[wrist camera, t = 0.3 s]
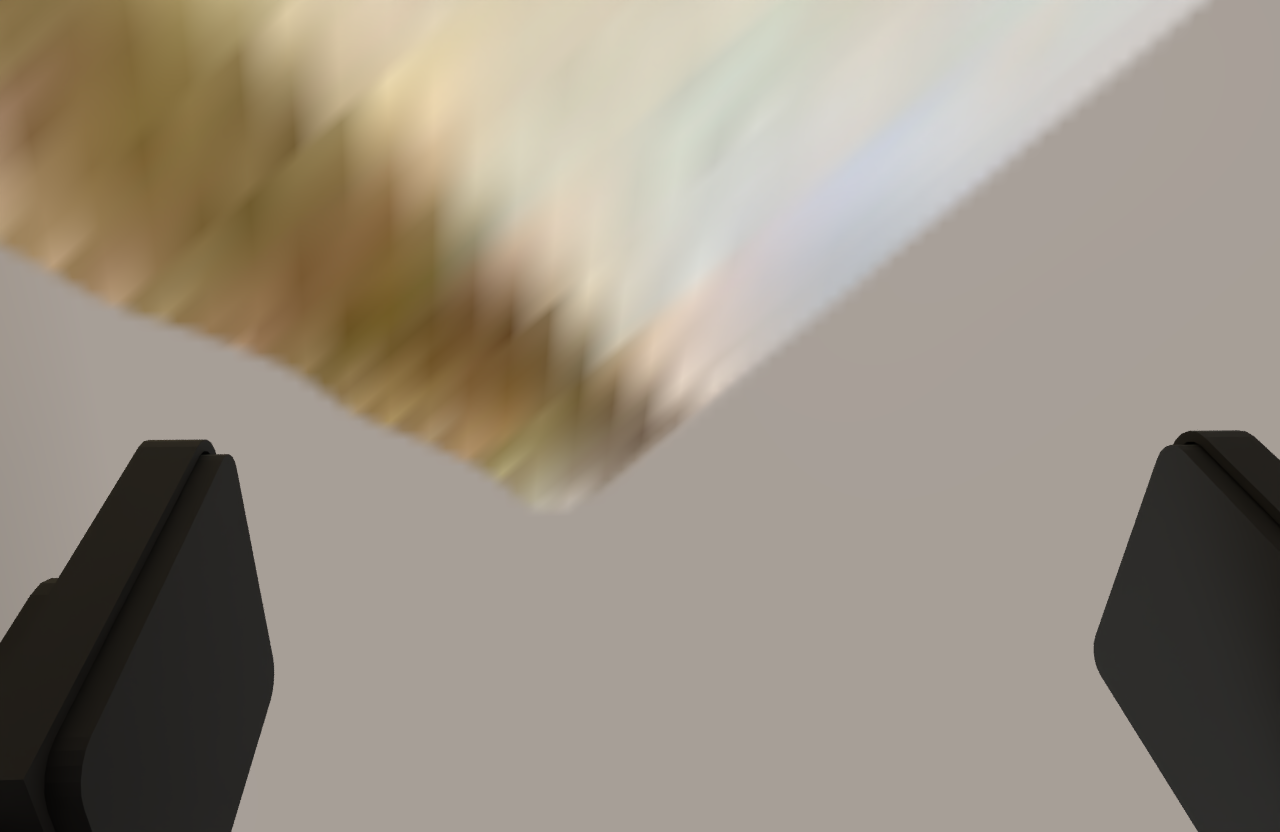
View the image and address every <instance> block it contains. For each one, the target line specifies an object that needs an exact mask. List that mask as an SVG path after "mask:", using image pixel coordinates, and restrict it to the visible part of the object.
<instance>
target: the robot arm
mask: <svg viewBox="0 0 1280 832" xmlns="http://www.w3.org/2000/svg"><path fill="white" fill-rule="evenodd" d="M1094 657H1095V662H1096V666H1097V669H1098V671H1099V673H1100V675H1101V677H1102V678H1103V680H1104V681H1105V683H1106V685H1107V686H1108V688H1109V690H1110V691H1111V693H1112V694H1113V696H1114V698H1115V699H1116V701H1117V702H1118V704H1119V706H1120V707H1121V709H1122V710H1123V712H1124V714H1125V715H1126V717H1127V718H1128V720H1129V722H1130V723H1131V725H1132V726H1133V728H1134V730H1135V731H1136V733H1137V735H1138V736H1139V738H1140V739H1141V741H1142V743H1143V744H1144V746H1145V747H1146V749H1147V751H1148V752H1149V754H1150V755H1151V757H1152V759H1153V760H1154V762H1155V763H1156V765H1157V767H1158V768H1159V770H1160V771H1161V773H1162V774H1163V776H1164V778H1165V779H1166V781H1167V783H1168V784H1169V786H1170V787H1171V789H1172V790H1173V792H1174V794H1175V795H1176V797H1177V798H1178V800H1179V802H1180V803H1181V805H1182V807H1183V808H1184V810H1185V812H1186V813H1187V815H1188V816H1189V818H1190V820H1191V821H1192V823H1193V824H1194V826H1195V828H1196V829H1197V831H1198V832H1280V460H1279V459H1278V458H1277V457H1276V456H1275V455H1273V454H1272V453H1271V452H1270V451H1269V450H1268V449H1267V448H1266V447H1265V446H1264V445H1263V444H1262V443H1261V442H1260V441H1258V440H1257V439H1256V438H1255V437H1254V436H1252V435H1251V434H1249V433H1248V432H1245V431H1237V430H1235V431H1188V432H1185V433H1183V434H1181V435H1180V436H1179V437H1178V438H1177V439H1176V440H1175V442H1174V444H1173V445H1169V446H1167V447H1165V448H1164V449H1163V450H1162V451H1161V452H1160V454H1159V456H1158V458H1157V461H1156V464H1155V467H1154V469H1153V472H1152V475H1151V478H1150V481H1149V484H1148V487H1147V489H1146V493H1145V495H1144V498H1143V501H1142V504H1141V507H1140V510H1139V512H1138V515H1137V518H1136V521H1135V525H1134V527H1133V530H1132V533H1131V535H1130V538H1129V541H1128V544H1127V547H1126V550H1125V553H1124V556H1123V559H1122V561H1121V564H1120V567H1119V570H1118V573H1117V576H1116V578H1115V581H1114V584H1113V588H1112V590H1111V593H1110V596H1109V599H1108V601H1107V604H1106V607H1105V610H1104V613H1103V616H1102V619H1101V622H1100V625H1099V627H1098V630H1097V633H1096V636H1095V641H1094ZM273 684H274V663H273V655H272V650H271V646H270V640H269V635H268V629H267V624H266V619H265V614H264V609H263V604H262V598H261V593H260V588H259V583H258V577H257V572H256V567H255V562H254V557H253V551H252V546H251V541H250V535H249V530H248V525H247V521H246V515H245V510H244V504H243V499H242V494H241V489H240V483H239V478H238V473H237V468H236V465H235V461H234V459H233V457H232V456H231V455H229V454H224V455H223V454H220V455H219V454H216V452H215V449H214V447H213V445H212V444H211V442H209V441H208V440H148V441H144V442H143V443H142V444H141V445H140V446H139V447H138V449H137V450H136V452H135V454H134V455H133V457H132V459H131V460H130V462H129V464H128V465H127V467H126V469H125V470H124V472H123V473H122V475H121V477H120V478H119V480H118V482H117V483H116V485H115V487H114V488H113V490H112V491H111V493H110V495H109V496H108V498H107V499H106V501H105V503H104V504H103V506H102V508H101V509H100V511H99V513H98V514H97V516H96V518H95V519H94V521H93V522H92V524H91V526H90V527H89V529H88V530H87V532H86V534H85V535H84V537H83V539H82V540H81V542H80V544H79V545H78V547H77V548H76V550H75V552H74V554H73V555H72V557H71V558H70V560H69V562H68V563H67V565H66V566H65V568H64V570H63V571H62V573H61V575H60V576H59V578H51V579H49V580H46V581H45V582H42V583H40V585H39V586H38V587H37V588H36V589H35V591H34V592H33V593H32V594H31V595H30V597H29V598H28V600H27V601H26V603H25V605H24V606H23V608H22V610H21V611H20V613H19V614H18V616H17V617H16V619H15V620H14V622H13V624H12V625H11V627H10V628H9V630H8V631H7V633H6V635H5V636H4V638H3V639H2V641H1V642H0V832H231V830H232V827H233V824H234V820H235V817H236V814H237V810H238V806H239V804H240V800H241V797H242V794H243V790H244V787H245V783H246V780H247V777H248V774H249V770H250V766H251V764H252V760H253V757H254V754H255V750H256V747H257V744H258V740H259V737H260V734H261V730H262V727H263V723H264V720H265V717H266V714H267V710H268V707H269V703H270V700H271V696H272V691H273Z"/></svg>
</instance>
